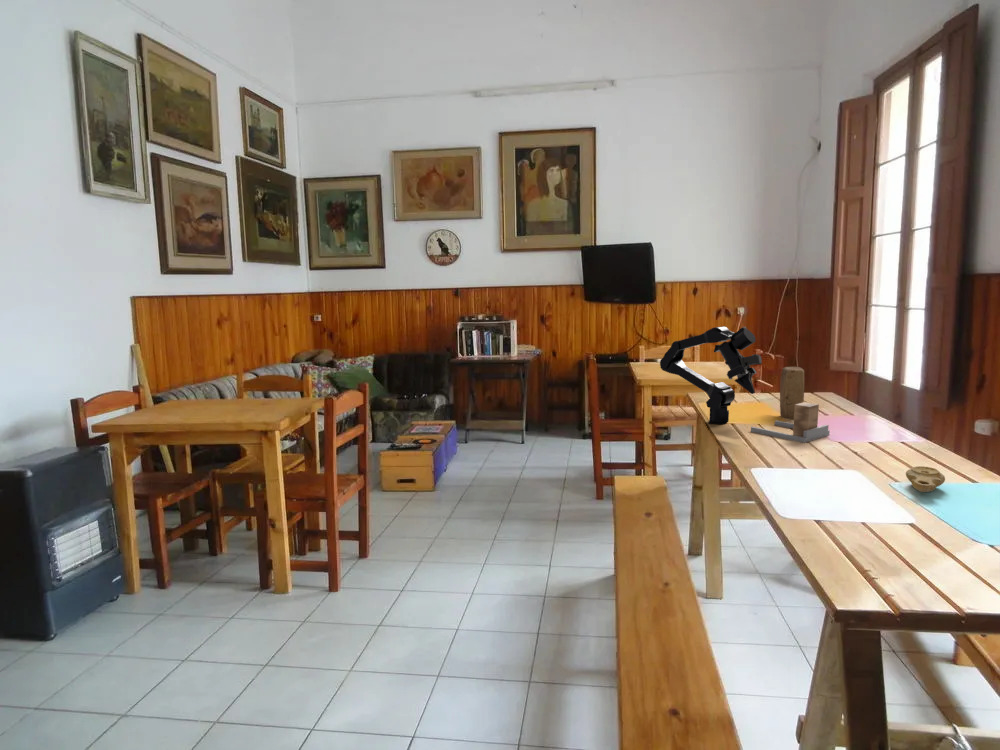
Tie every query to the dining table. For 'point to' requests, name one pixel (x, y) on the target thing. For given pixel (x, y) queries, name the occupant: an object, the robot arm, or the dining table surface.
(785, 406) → the block
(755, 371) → the robot arm
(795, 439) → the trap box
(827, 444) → the dining table surface
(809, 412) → the slider
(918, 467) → the oil lamp
